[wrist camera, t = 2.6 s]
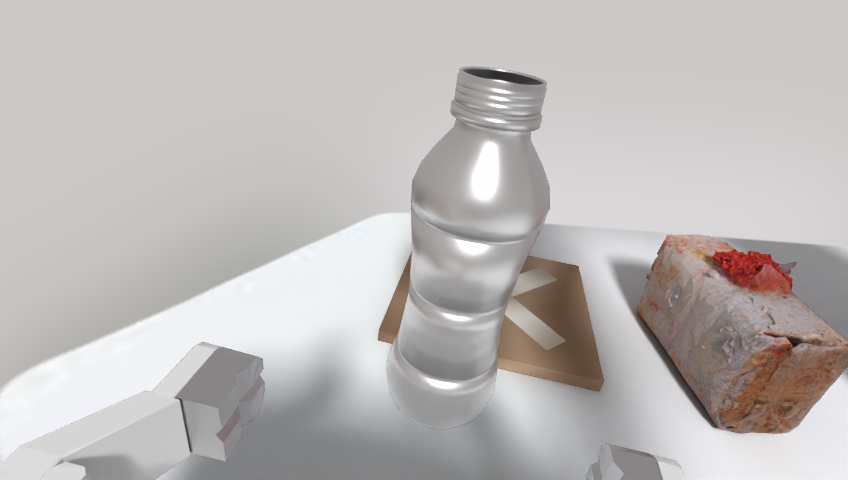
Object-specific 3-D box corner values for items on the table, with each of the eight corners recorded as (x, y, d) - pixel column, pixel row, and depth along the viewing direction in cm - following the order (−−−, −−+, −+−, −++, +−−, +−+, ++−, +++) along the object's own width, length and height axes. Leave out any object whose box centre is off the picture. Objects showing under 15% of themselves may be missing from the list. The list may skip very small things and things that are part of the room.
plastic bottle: (392, 354, 31) (429, 53, 21) (486, 371, 31) (569, 74, 21) (373, 433, 26) (411, 76, 16) (488, 454, 25) (602, 105, 15)
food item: (618, 302, 40) (660, 207, 35) (699, 309, 41) (752, 216, 36) (702, 434, 29) (783, 319, 24) (814, 441, 29) (916, 330, 24)
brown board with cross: (575, 274, 44) (578, 265, 43) (599, 391, 31) (604, 381, 30) (418, 241, 45) (419, 233, 45) (377, 340, 32) (378, 329, 32)
